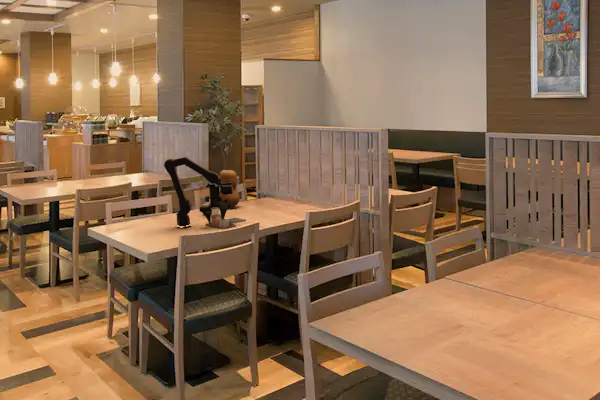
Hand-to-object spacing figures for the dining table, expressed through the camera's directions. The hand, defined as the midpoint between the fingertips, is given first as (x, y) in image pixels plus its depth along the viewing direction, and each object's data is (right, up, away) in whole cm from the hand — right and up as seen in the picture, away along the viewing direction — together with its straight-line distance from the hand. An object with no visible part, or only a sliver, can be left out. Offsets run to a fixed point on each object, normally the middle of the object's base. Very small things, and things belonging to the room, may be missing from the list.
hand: (216, 221), depth 341 cm
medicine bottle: (-8, +3, +30) cm, 31 cm away
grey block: (+5, -3, -5) cm, 7 cm away
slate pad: (+9, 0, +10) cm, 13 cm away
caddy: (+3, -2, -2) cm, 4 cm away
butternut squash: (+1, +7, +52) cm, 52 cm away
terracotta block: (0, -2, 0) cm, 2 cm away
